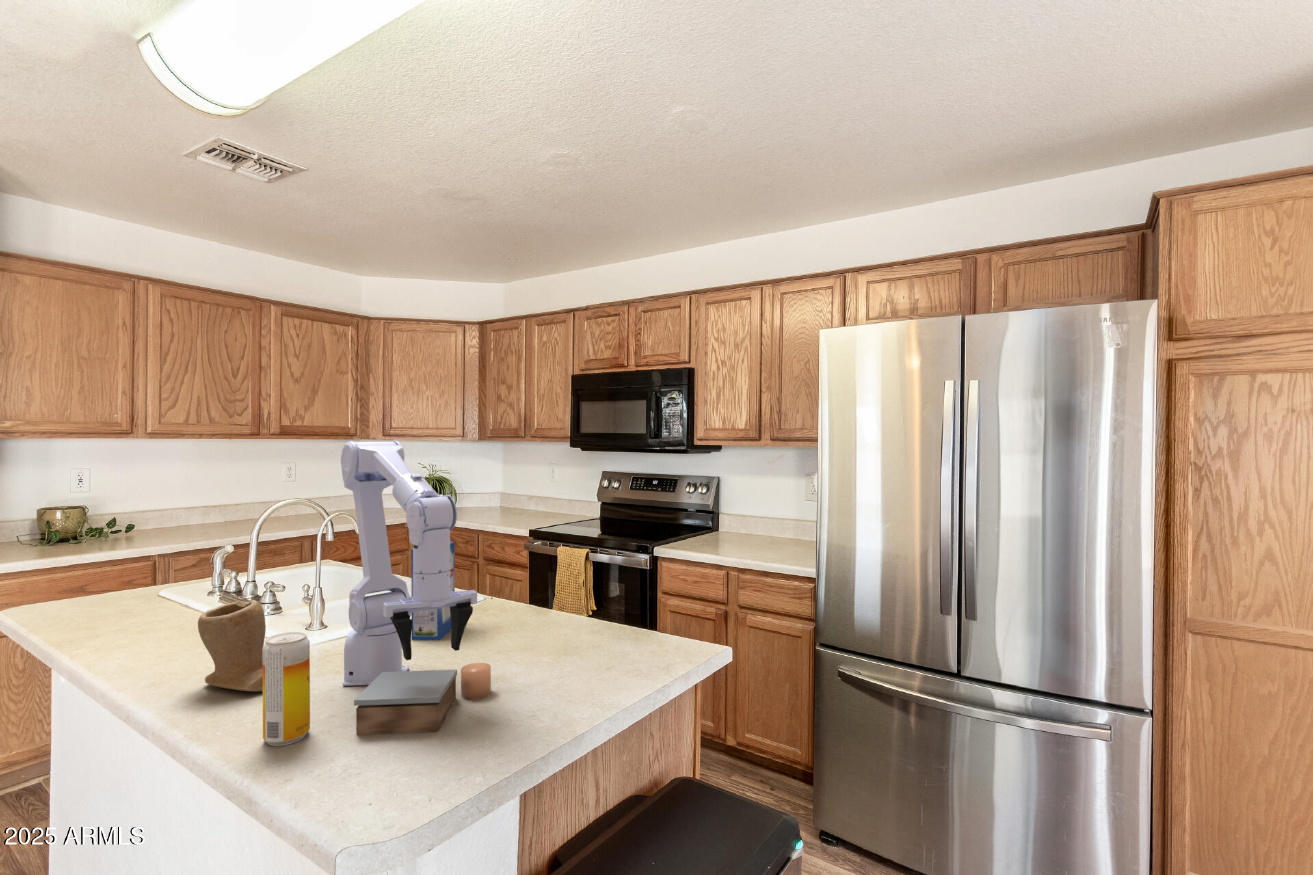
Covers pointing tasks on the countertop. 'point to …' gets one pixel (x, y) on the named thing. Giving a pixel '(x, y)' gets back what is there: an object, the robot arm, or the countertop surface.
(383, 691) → the lid
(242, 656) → the stone cup
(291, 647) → the beer can
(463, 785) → the countertop surface
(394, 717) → the box
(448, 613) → the milk carton
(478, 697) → the tan rounded cylinder
